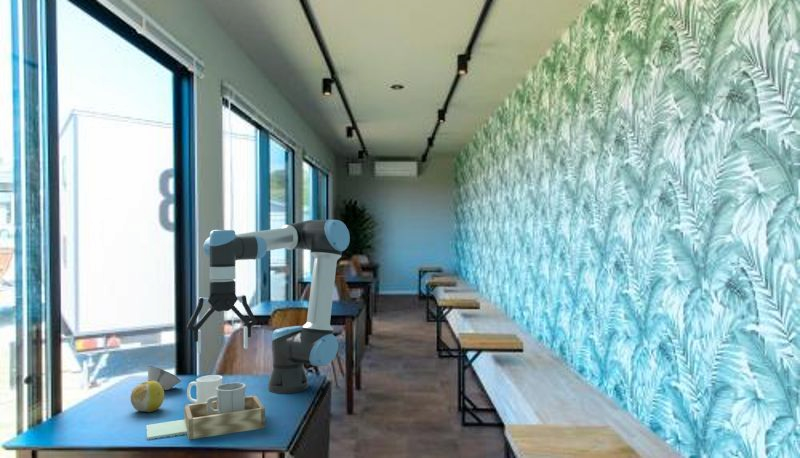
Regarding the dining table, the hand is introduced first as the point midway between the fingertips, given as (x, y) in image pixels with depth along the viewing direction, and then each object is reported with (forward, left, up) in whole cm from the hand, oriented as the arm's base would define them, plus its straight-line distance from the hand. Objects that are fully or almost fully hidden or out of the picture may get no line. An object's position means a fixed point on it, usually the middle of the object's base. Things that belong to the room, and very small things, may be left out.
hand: (222, 350), depth 167 cm
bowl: (+15, -50, -24) cm, 57 cm away
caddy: (0, 0, -23) cm, 23 cm away
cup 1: (+3, -21, -24) cm, 32 cm away
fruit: (+21, -26, -24) cm, 41 cm away
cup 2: (-1, 0, -24) cm, 24 cm away
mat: (+16, -3, -23) cm, 28 cm away
